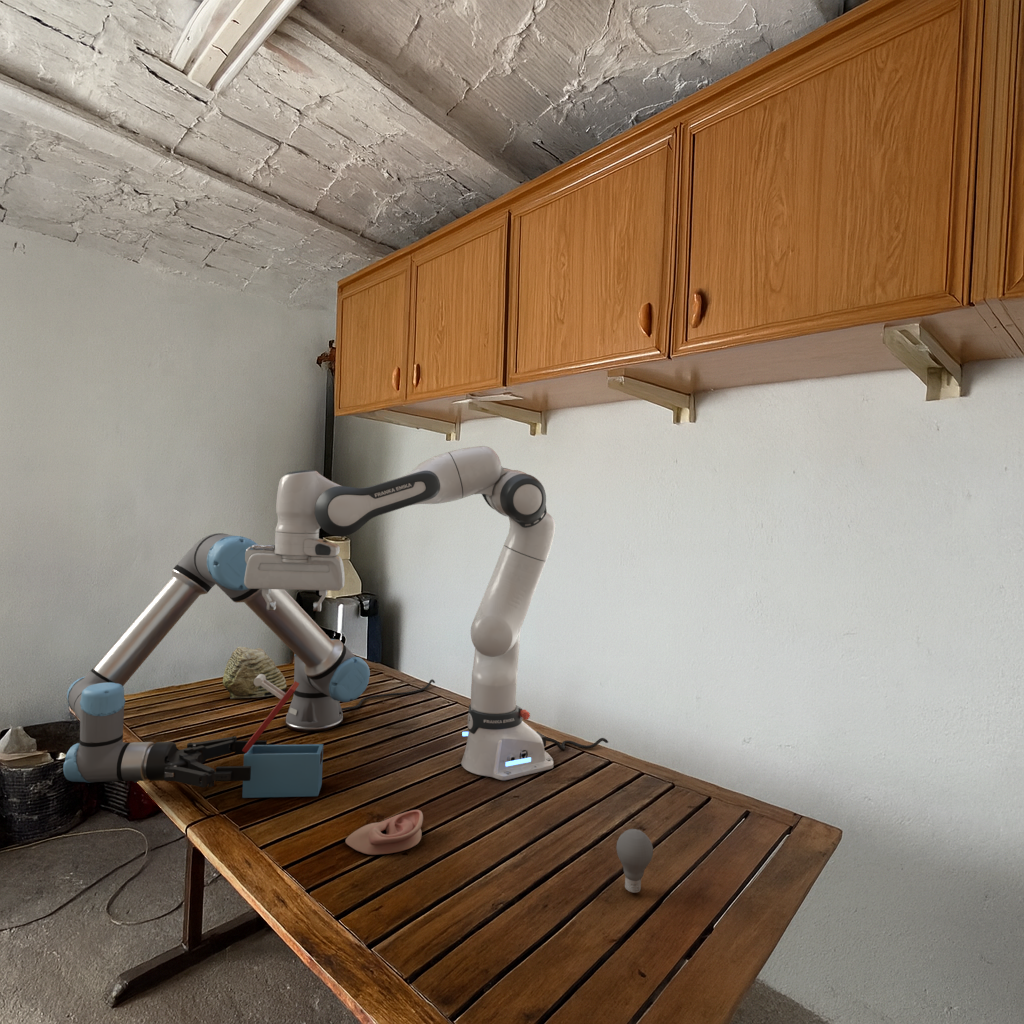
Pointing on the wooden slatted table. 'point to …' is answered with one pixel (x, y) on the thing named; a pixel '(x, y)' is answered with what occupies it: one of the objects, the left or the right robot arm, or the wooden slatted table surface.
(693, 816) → the wooden slatted table surface
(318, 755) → the chest
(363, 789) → the wooden slatted table surface
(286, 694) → the lid
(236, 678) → the fossil
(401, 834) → the anatomical model
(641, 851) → the light bulb
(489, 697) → the right robot arm
